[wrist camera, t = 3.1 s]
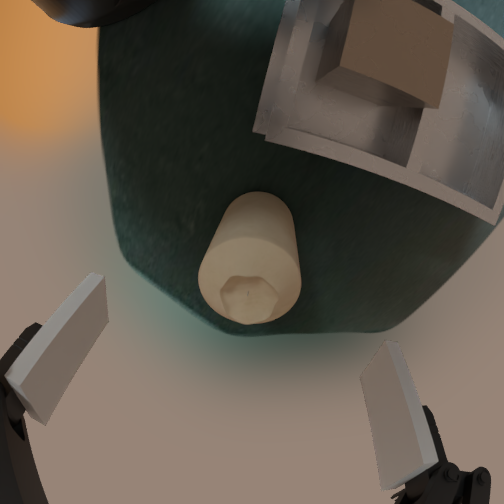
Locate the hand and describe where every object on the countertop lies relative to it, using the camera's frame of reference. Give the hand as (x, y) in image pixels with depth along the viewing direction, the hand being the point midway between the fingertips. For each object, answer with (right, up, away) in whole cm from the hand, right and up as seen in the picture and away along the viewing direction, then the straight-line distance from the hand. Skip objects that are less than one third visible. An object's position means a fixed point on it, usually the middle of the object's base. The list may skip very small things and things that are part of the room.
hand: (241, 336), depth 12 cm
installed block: (+8, +17, +3) cm, 19 cm away
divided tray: (+12, +16, +4) cm, 20 cm away
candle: (+1, +6, +11) cm, 12 cm away
